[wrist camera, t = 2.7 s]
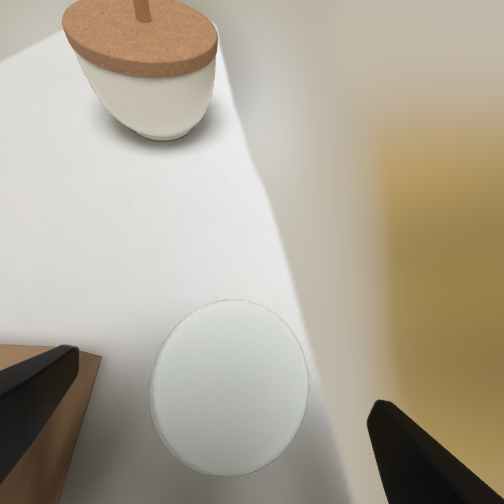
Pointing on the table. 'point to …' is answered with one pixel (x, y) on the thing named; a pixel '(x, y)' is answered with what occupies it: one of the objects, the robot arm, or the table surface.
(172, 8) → the lidded jar
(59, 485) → the walnut block
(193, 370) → the supplement bottle
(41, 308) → the table surface
